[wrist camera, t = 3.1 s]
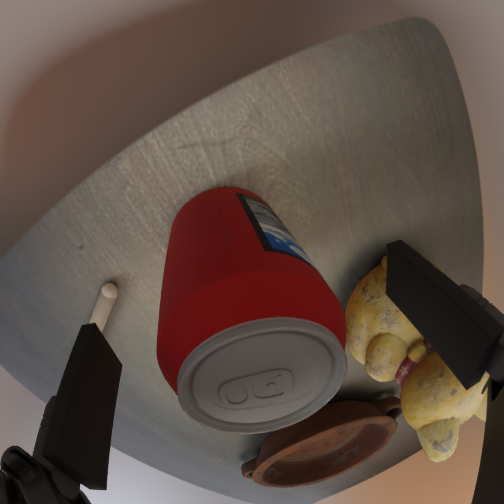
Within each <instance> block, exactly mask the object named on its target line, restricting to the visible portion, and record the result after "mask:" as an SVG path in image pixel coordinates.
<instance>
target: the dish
mask: <svg viewBox="0 0 504 504" xmlns="http://www.w3.org/2000/svg"><path fill="white" fill-rule="evenodd" d="M401 413H402V410H401V400H400V399H399V398H397V397H394V396H392V397H387V398H385V399H382V400H379V401H375V402H371V403H367V402H362V401H356V400H346V401H339V402H334V403H330V404H326V405H324V406H323V407H322V408H321V409H319V410H318V411H317V412H315V413H314V414H312V415H311V416H309V417H307V418H305V419H303V420H301V421H299V422H297V423H295V424H293V425H290V426H287V427H284V428H281V429H278V430H274V431H273V432H272V433H271V434H270V435H269V436H268V437H267V439H266V440H265V442H264V443H263V445H262V448H261V450H260V453H259V455H258V456H257V457H256V458H254V459H252V460H250V461H248V462H246V463H244V464H243V465H242V467H241V469H242V475H243V477H245V478H250V479H253V481H254V482H255V483H257V484H260V485H263V486H269V487H278V488H289V487H297V486H304V485H309V484H314V483H318V482H321V481H324V480H327V479H330V478H332V477H335V476H337V475H340V474H342V473H344V472H346V471H348V470H350V469H352V468H354V467H356V466H358V465H360V464H361V463H363V462H365V461H366V460H368V459H369V458H371V457H372V456H374V455H375V454H376V453H378V452H379V451H380V450H382V449H383V448H384V447H385V446H386V445H387V444H388V443H389V441H390V440H391V438H392V437H393V435H394V434H395V431H396V429H397V424H398V423H397V422H396V421H395V419H396V418H397V417H398V416H399V415H400V414H401Z"/></svg>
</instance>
